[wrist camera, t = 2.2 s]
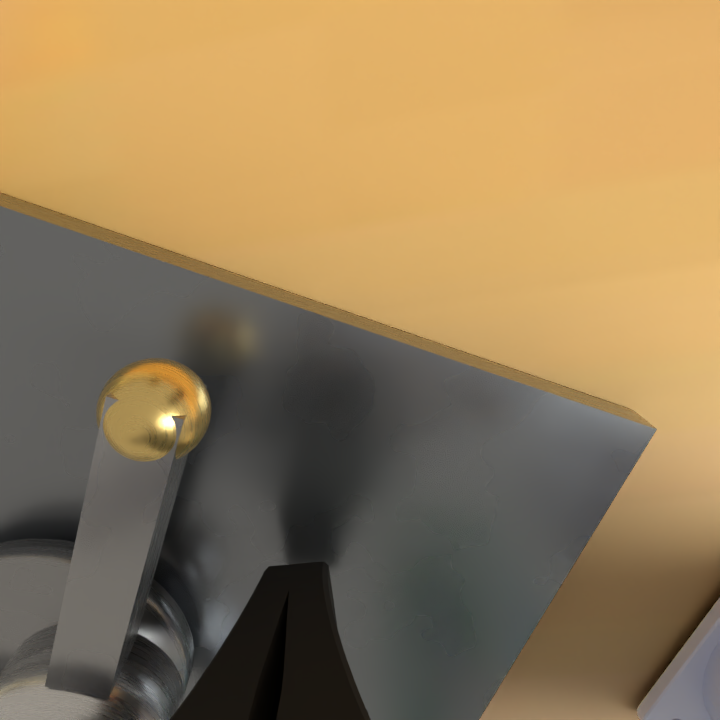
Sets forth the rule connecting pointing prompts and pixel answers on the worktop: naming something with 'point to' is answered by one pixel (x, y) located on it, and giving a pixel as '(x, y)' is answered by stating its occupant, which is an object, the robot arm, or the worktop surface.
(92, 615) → the capstan
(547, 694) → the worktop surface
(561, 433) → the plate
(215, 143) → the worktop surface
